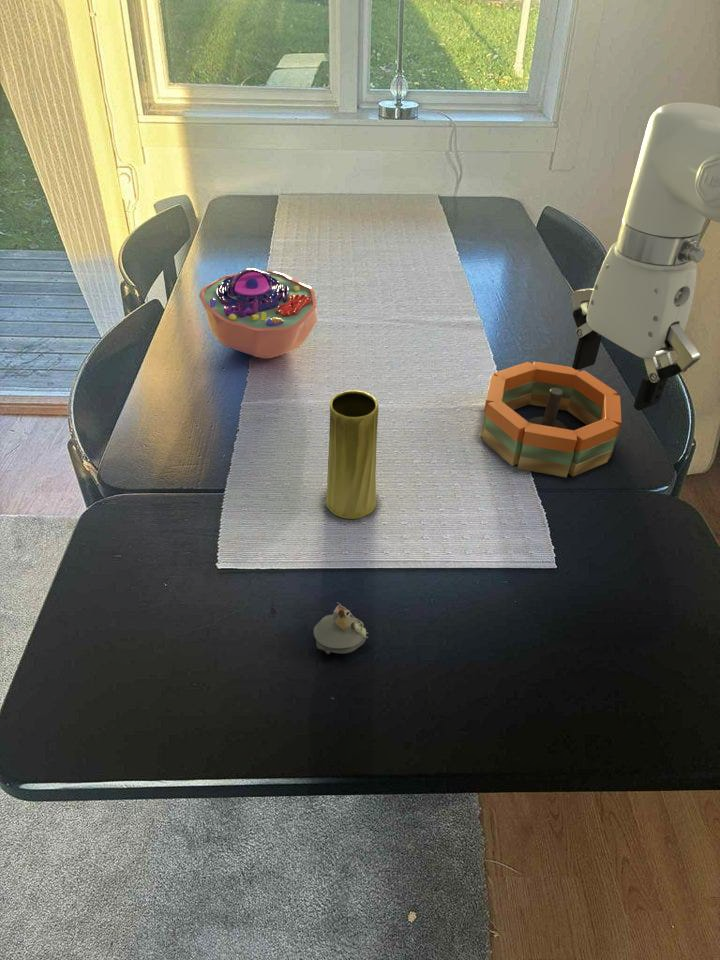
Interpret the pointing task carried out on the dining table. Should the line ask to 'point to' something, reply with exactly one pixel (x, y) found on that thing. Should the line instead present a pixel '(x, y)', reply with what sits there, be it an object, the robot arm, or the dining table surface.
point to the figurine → (339, 632)
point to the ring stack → (552, 400)
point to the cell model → (260, 312)
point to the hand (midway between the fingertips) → (612, 385)
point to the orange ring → (547, 434)
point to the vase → (352, 455)
